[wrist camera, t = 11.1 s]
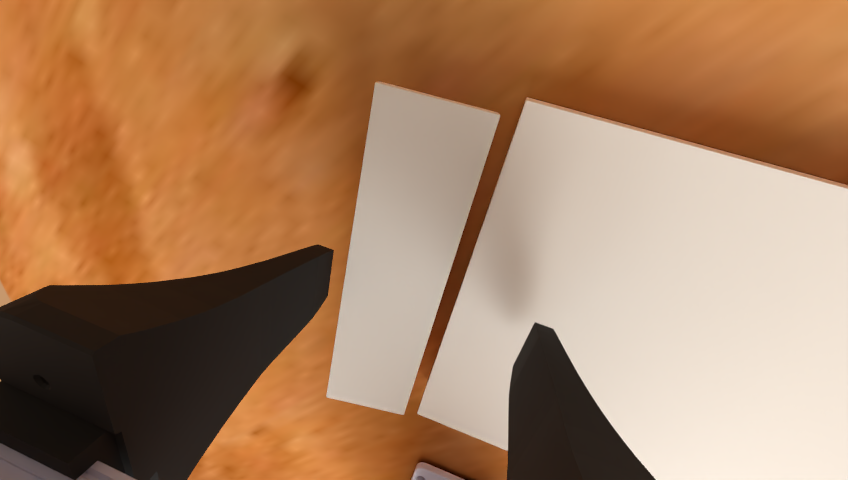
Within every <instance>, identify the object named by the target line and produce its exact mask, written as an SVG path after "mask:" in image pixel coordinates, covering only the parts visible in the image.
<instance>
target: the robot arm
mask: <svg viewBox="0 0 848 480" xmlns="http://www.w3.org/2000/svg"><path fill="white" fill-rule="evenodd" d="M333 251H334V250H332V249H329V248H326V247H323V246H321V245H314V246H311V247H307V248H304V249H301V250H298V251H294V252H291V253H288V254H285V255H282V256H279V257H275V258H272V259H269V260H266V261H262V262H259V263H255V264H251V265H247V266H244V267H240V268H236V269H232V270H228V271H223V272H219V273H214V274H208V275H203V276H197V277H191V278H183V279H175V280H167V281H159V282H148V283H136V284H118V285H49V286H47V287H44V288H42V289H40V290H37V291H35V292H33V293H31V294H28V295H26V296H24V297H22V298H19V299H17V300H15V301H13V302H10V303H8V304H6V305H4V306H1V307H0V379H1V382H0V480H187V479H188V477H189V476H190V474H191V472H192V471H193V469H194V468H195V466H196V465H197V463H198V462H199V460H200V459H201V457H202V456H203V454H204V453H205V451H206V450H207V448H208V447H209V446H210V444H211V443H212V441H213V440H214V438H215V437H216V435H217V434H218V432H219V431H220V429H221V428H222V427H223V425H224V424H225V422H226V421H227V420H228V418H229V417H230V415H231V414H232V413H233V411H234V410H235V409H236V407H237V406H238V404H239V403H240V402H241V400H242V399H243V398H244V396H245V395H246V394H247V392H248V391H249V390H250V388H251V387H252V386H253V384H254V383H255V382H256V380H257V379H258V378H259V376H260V375H261V374H262V373H263V372H264V370H265V369H266V368H267V367H268V366H269V365H270V363H271V362H272V361H273V360H274V359H275V358H276V357H277V356H278V355H279V354H280V353H281V352H282V351H283V350H284V348H285V347H286V346H287V345H288V344H289V343H290V342H291V341H292V340H293V339H294V338H295V337H296V336H297V334H298V333H299V332H300V331H301V330H302V329H303V328H304V327H305V326H306V325H307V324H308V322H309V321H310V320H311V319H312V318H313V316H314V315H315V314H316V312H317V311H318V310H319V308H320V307H321V305H322V304H323V302H324V301H325V299H326V298H327V296H328V289H329V282H330V274H331V267H332V259H333ZM411 480H465V479H462V478H460V477H458V476H455V475H453V474H451V473H448V472H446V471H444V470H441V469H439V468H437V467H434V466H432V465H430V464H427V463H424V462H420V463H418V464H417V466H416V468H415V471H414V473H413V476H412V478H411ZM507 480H656V479H655V478H654V477H653V476H652V475H651V473H650V472H649V471H648V470H647V469H646V468H645V466H644V465H643V464H642V463H641V462H640V461H639V460H638V458H637V457H636V456H635V455H634V453H633V452H632V451H631V450H630V449H629V447H628V446H627V445H626V443H625V442H624V441H623V439H622V438H621V437H620V436H619V434H618V433H617V432H616V430H615V429H614V428H613V426H612V425H611V424H610V422H609V421H608V419H607V418H606V417H605V415H604V414H603V412H602V411H601V409H600V408H599V406H598V405H597V403H596V402H595V400H594V399H593V397H592V396H591V394H590V392H589V391H588V389H587V388H586V386H585V384H584V383H583V381H582V379H581V378H580V376H579V374H578V373H577V371H576V369H575V367H574V366H573V364H572V362H571V360H570V358H569V356H568V355H567V353H566V351H565V349H564V347H563V345H562V344H561V342H560V340H559V338H558V336H557V334H556V332H555V331H554V329H553V328H550V327H547V326H544V325H541V324H539V323H536V322H535V323H534V325H533V327H532V329H531V331H530V333H529V335H528V337H527V339H526V341H525V343H524V345H523V347H522V349H521V351H520V353H519V355H518V357H517V359H516V361H515V363H514V365H513V368H512V375H511V381H510V389H509V407H508V470H507Z"/></svg>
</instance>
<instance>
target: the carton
mask: <svg viewBox="0 0 848 480" xmlns="http://www.w3.org/2000/svg"><path fill="white" fill-rule="evenodd" d="M535 322H536V323H539V324H541V325H544V326H547V327H550V328H553V329H554V331H555V332H556V334H557V336H558V338H559V340H560V342H561V344H562V345H563V347H564V349H565V351H566V353H567V355H568V356H569V358H570V360H571V362H572V364H573V366H574V367H575V369H576V371H577V373H578V374H579V376H580V378H581V379H582V381H583V383H584V384H585V386H586V388H587V389H588V391H589V392H590V394H591V396H592V397H593V399H594V400H595V402H596V403H597V405H598V406H599V408H600V409H601V411H602V412H603V414H604V415H605V417H606V418H607V419H608V421H609V422H610V424H611V425H612V426H613V428H614V429H615V430H616V432H617V433H618V434H619V436H620V437H621V438H622V439H623V441H624V442H625V443H626V445H627V446H628V447H629V449H630V450H631V451H632V452H633V453H634V455H635V456H636V457H637V458H638V460H639V461H640V462H641V463H642V464H643V465H644V466H645V468H646V469H647V470H648V471H649V472H650V473H651V475H652V476H653V477H654V478H655V479H656V480H848V185H846V184H842V183H838V182H835V181H831V180H827V179H824V178H820V177H816V176H813V175H809V174H805V173H802V172H798V171H795V170H791V169H787V168H784V167H780V166H776V165H773V164H769V163H765V162H762V161H758V160H754V159H751V158H747V157H744V156H740V155H736V154H733V153H729V152H725V151H722V150H718V149H714V148H711V147H707V146H703V145H700V144H696V143H693V142H689V141H685V140H682V139H678V138H674V137H671V136H667V135H663V134H660V133H656V132H652V131H649V130H645V129H642V128H638V127H634V126H631V125H627V124H623V123H620V122H616V121H612V120H609V119H605V118H601V117H598V116H594V115H591V114H587V113H583V112H580V111H576V110H572V109H569V108H565V107H561V106H558V105H554V104H551V103H547V102H543V101H540V100H536V99H532V98H529V97H527V98H526V100H525V103H524V106H523V109H522V112H521V115H520V118H519V121H518V123H517V126H516V129H515V132H514V135H513V138H512V141H511V143H510V146H509V149H508V152H507V155H506V158H505V161H504V164H503V166H502V169H501V172H500V175H499V178H498V181H497V184H496V187H495V189H494V192H493V195H492V198H491V201H490V204H489V207H488V210H487V212H486V215H485V218H484V221H483V224H482V227H481V230H480V232H479V235H478V238H477V241H476V244H475V247H474V250H473V253H472V255H471V258H470V261H469V264H468V267H467V270H466V273H465V276H464V278H463V281H462V284H461V287H460V290H459V293H458V296H457V299H456V301H455V304H454V307H453V310H452V313H451V316H450V319H449V321H448V324H447V327H446V330H445V333H444V336H443V339H442V342H441V344H440V347H439V350H438V353H437V356H436V359H435V362H434V365H433V367H432V370H431V373H430V376H429V379H428V382H427V385H426V388H425V391H424V394H423V397H422V400H421V403H420V406H419V409H418V412H417V414H419V415H421V416H424V417H426V418H428V419H431V420H433V421H436V422H438V423H441V424H443V425H445V426H448V427H450V428H453V429H455V430H458V431H460V432H463V433H465V434H467V435H470V436H472V437H475V438H477V439H480V440H482V441H485V442H487V443H489V444H492V445H494V446H497V447H499V448H502V449H504V450H506V451H508V407H509V389H510V381H511V375H512V368H513V365H514V363H515V361H516V359H517V357H518V355H519V353H520V351H521V349H522V347H523V345H524V343H525V341H526V339H527V337H528V335H529V333H530V331H531V329H532V327H533V325H534V323H535Z"/></svg>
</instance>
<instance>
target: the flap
mask: <svg viewBox="0 0 848 480" xmlns="http://www.w3.org/2000/svg"><path fill="white" fill-rule="evenodd" d="M499 118H500V114H499V113H498V112H495V111H491V110H487V109H483V108H479V107H476V106H472V105H468V104H464V103H460V102H457V101H453V100H449V99H445V98H441V97H438V96H434V95H430V94H426V93H422V92H419V91H415V90H411V89H407V88H403V87H400V86H396V85H392V84H388V83H385V82H381V81H379V82H375V87H374V94H373V100H372V107H371V113H370V119H369V126H368V132H367V139H366V145H365V152H364V158H363V164H362V171H361V177H360V184H359V190H358V196H357V203H356V209H355V216H354V222H353V229H352V235H351V241H350V248H349V254H348V261H347V267H346V274H345V280H344V286H343V293H342V299H341V306H340V312H339V319H338V325H337V331H336V338H335V344H334V351H333V357H332V363H331V370H330V376H329V383H328V389H327V396H326V397H327V398H332V399H336V400H340V401H345V402H349V403H353V404H358V405H362V406H366V407H370V408H375V409H379V410H383V411H388V412H392V413H396V414H401V415H404V413H405V410H406V406H407V403H408V400H409V397H410V394H411V391H412V388H413V385H414V382H415V379H416V375H417V372H418V369H419V366H420V363H421V360H422V357H423V354H424V351H425V348H426V345H427V341H428V338H429V335H430V332H431V329H432V326H433V323H434V320H435V317H436V314H437V310H438V307H439V304H440V301H441V298H442V295H443V292H444V289H445V286H446V283H447V279H448V276H449V273H450V270H451V267H452V264H453V261H454V258H455V255H456V252H457V249H458V245H459V242H460V239H461V236H462V233H463V230H464V227H465V224H466V221H467V218H468V214H469V211H470V208H471V205H472V202H473V199H474V196H475V193H476V190H477V187H478V183H479V180H480V177H481V174H482V171H483V168H484V165H485V162H486V159H487V156H488V153H489V149H490V146H491V143H492V140H493V137H494V134H495V131H496V128H497V125H498V122H499Z"/></svg>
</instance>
